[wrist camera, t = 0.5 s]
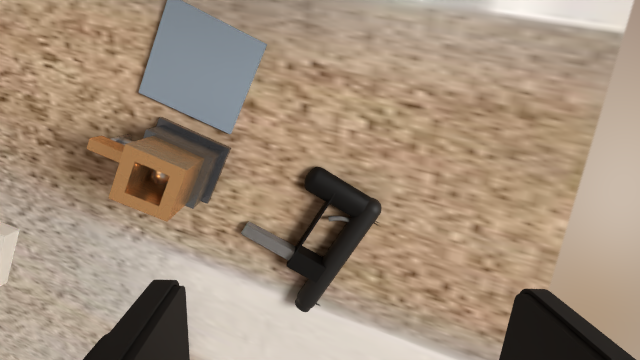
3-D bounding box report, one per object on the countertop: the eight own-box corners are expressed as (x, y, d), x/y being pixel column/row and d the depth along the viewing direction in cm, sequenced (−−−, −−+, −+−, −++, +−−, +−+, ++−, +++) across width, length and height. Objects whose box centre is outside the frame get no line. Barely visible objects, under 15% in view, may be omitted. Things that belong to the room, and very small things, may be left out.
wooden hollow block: (107, 115, 35) (70, 120, 29) (204, 158, 36) (186, 170, 31) (93, 164, 36) (56, 177, 31) (187, 203, 38) (167, 221, 33)
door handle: (219, 268, 44) (316, 320, 46) (291, 150, 39) (394, 212, 41) (227, 256, 47) (316, 305, 49) (293, 146, 43) (389, 204, 45)
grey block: (136, 105, 39) (97, 109, 32) (231, 148, 41) (214, 160, 34) (118, 163, 41) (77, 179, 34) (209, 201, 43) (188, 224, 36)
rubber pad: (171, -5, 36) (169, -6, 35) (266, 44, 38) (266, 44, 37) (140, 92, 39) (138, 92, 38) (231, 133, 41) (229, 134, 40)
